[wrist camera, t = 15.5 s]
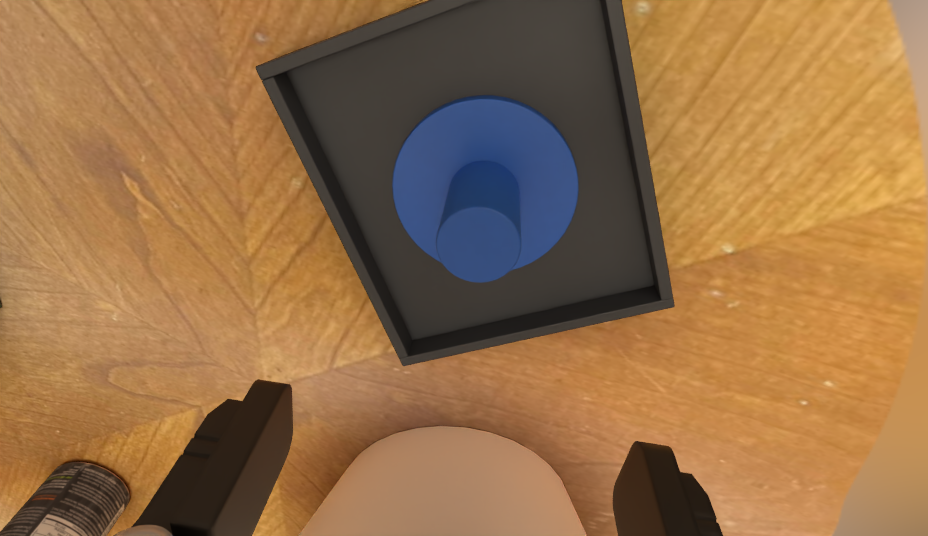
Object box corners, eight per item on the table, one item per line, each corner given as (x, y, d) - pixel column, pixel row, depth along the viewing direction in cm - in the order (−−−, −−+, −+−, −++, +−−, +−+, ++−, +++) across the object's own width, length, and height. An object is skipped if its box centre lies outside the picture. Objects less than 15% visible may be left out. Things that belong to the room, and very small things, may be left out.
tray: (273, 59, 25) (254, 67, 23) (601, -66, 21) (610, -69, 19) (408, 344, 32) (402, 366, 31) (664, 285, 29) (675, 307, 27)
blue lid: (366, 129, 25) (327, 174, 20) (551, 67, 23) (564, 99, 18) (431, 283, 29) (414, 356, 24) (594, 242, 27) (615, 312, 22)
